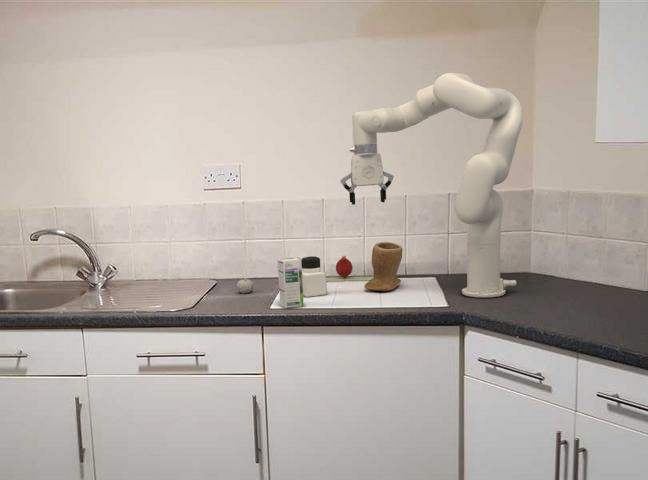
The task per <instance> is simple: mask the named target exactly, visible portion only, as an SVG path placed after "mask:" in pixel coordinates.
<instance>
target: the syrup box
mask: <svg viewBox="0 0 648 480" xmlns="http://www.w3.org/2000/svg"><path fill="white" fill-rule="evenodd" d="M301 259H302V258H301V257H298V256H291V257H281V258H277V273H278V274H277V276H278V287H279V288H278V291H279V304H280V306H281V307H283V308H284V309H292V308H298V307H299V308H300V307H304V304H305V303H304V296H303V284H302V264H301Z"/></svg>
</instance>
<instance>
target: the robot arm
mask: <svg viewBox="0 0 648 480" xmlns="http://www.w3.org/2000/svg"><path fill="white" fill-rule="evenodd" d="M449 109H452V110H453V109H454V110H456V111H458V112H460V113H463V114H465V115H467V116H470V117H472V118H475V119H478V120H492V124H491V126H490V128H489V131H488V133H487V135H486V139H485V143H484V146H483V149H482V151H481V153H478V154H475V155H474V156H472V157H471V158H470V159H469V160H468V161H467V163H466V164H465V166H464V168H463V172H462V175H461V179H460V183H459V186H458V190H457V194H456V198H455V202H454V211H455V212H454V213H455V215H456V217H457V219H458V220H459V221H460V222H461V223H464V224H466V225H467V230H466V234H467V235H466V287H464V288H462V289H461V295H463V296H466V297H471V298H480V299H481V298H484V299H485V298H498V297H502V296H505V294H506V288H507V287H509V288H510V287H517V280H516V279H510V280H509V279H504V278H503V277H502V278H501V235H502V234H501V233H502V232H501V231H502V221H503V214H504V202H503V198H502V196H501V195H500V193H499V192H498V191H497V190H495V189H494V186H497V185H500V184H501V183H503V182H505V181H506V179H507V178H508V176H509V174H510V170H511V166H512V163H513V159H514V155H515V151H516V148H517V144H518V140H519V136H520V133H521V130H522V126H523V121H524V111H523V106H522V104H521V103H520V101H519V98H517V97H516V96H515V94H513V93H512V92H510V91H509V90H507V89H504V88H499V87H485V86H482V85H479V84H477V83H474V80H473V79H472V78H471V77H470V76H469V75H468V74H466V73H462V72H461V73H460V72H459V73H458V72H446V73H443V74H442V75H440V76H438V77H437V79H435V81H434V83H432V84H431V85H428V86H425V87H424V88H421V89H419V90H418V91H417V92H416V94H415V98H413V99H412V100H410V101H407V102H406V103H403V104H402V105H399V106H397V107H381V108H375V109H372V110H360V111H355V112H354V113H353V114H352V116H351V121H352V123H351V124H352V138H353V142H352V143H353V146H352V147H349V149H348V150H349V153H353V155H352V156H351V161H350V173H349V174H347V175H345V176H344V177H342V178H341V179H340V181H339V182H340V183H341V186H343V188H344V189H345V190H346V191H347V192H349V193H348V194H349V203H351V205H353V206H355V205H356V193H355V189H356V188H357V187H366V186H367V187H368V186H379V187H380V191H379V193H380V202H381V203H385V202H386V200H387V190H388V188H389V187H390V186H391V184H392V182H393V180H394V175H393V174H391V173H388V172H387V171H385V170H384V169H383V168H384V167H383V161H382V155H381V153H378V134H385V133H386V134H387V133H396V132H397V133H398V132H400V131H403V130H406V129H409V128H410V127H413V126H415V125H418V124H420V123H422V122H423V121H425V120H427V119H429V118H431V117H432V116H435V115H438V114H440V113H442V112H445V111H447V110H449ZM377 133H378V134H377ZM385 177H386V178H387V180H386V182H385V181H384V179H385ZM348 180H350V183H351V185H350V186H349V185H348V183H347V181H348ZM384 182H385V183H384Z"/></svg>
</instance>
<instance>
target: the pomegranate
mask: <svg viewBox="0 0 648 480" xmlns="http://www.w3.org/2000/svg"><path fill="white" fill-rule="evenodd" d="M335 272H336V273H337V275H338V276H339V277H342V278H346V277H349V276H350V275H351V273H352V272H353V263H352V262H351V260H349V258H347V257H346V255H342V256H341V258H340V259H339V260H338V261H337V263H336V265H335Z"/></svg>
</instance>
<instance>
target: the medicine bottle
mask: <svg viewBox="0 0 648 480" xmlns="http://www.w3.org/2000/svg"><path fill="white" fill-rule="evenodd" d="M300 259H301V264H302V284H303V297H306V298H311V297H317V296H324V295H325V296H326V295H327V292H328V291H327V289H328V288H327V281H326V277H327V273H326V272H325V271H322V270H321V269H322V268H321V258H320V257H319V256H313V255H312V256H311V255H310V256H303V257H302V258H300Z"/></svg>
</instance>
